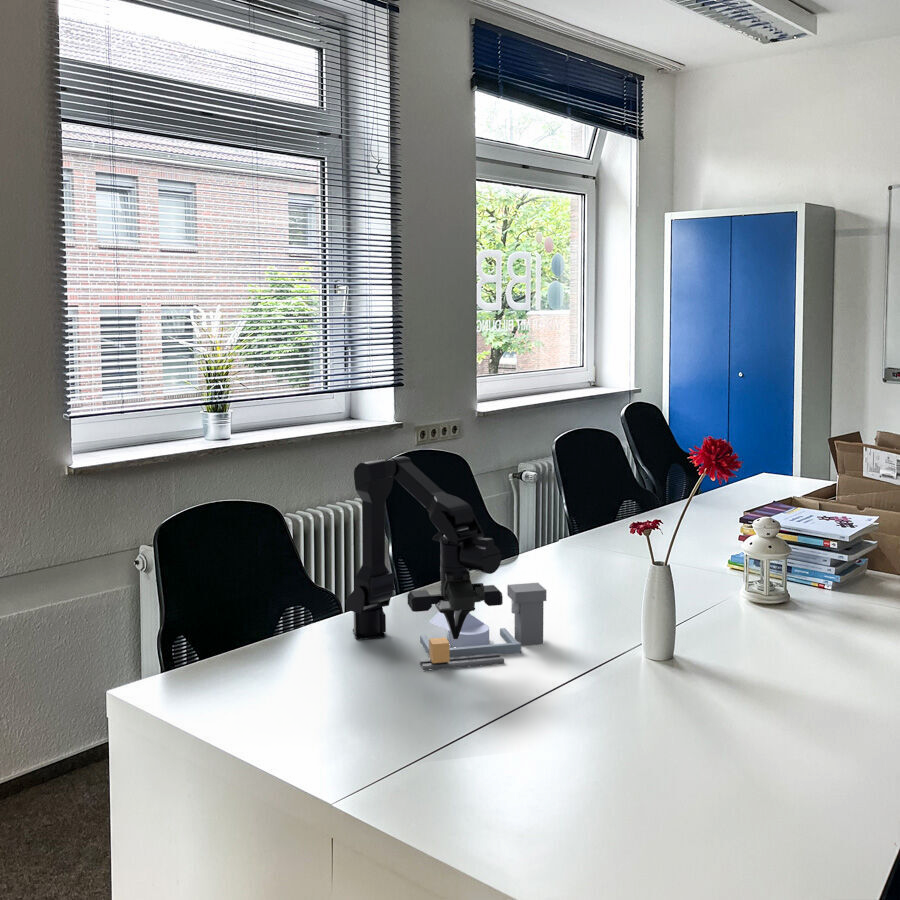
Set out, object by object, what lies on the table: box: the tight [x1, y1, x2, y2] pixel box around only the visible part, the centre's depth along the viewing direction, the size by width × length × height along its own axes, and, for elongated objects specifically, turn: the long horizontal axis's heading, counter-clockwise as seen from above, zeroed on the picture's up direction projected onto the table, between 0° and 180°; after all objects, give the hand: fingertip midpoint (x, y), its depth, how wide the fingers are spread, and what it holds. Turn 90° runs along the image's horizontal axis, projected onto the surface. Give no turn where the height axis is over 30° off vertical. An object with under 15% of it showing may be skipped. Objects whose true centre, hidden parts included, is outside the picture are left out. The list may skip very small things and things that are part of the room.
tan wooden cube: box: [428, 637, 450, 663], centre depth 204 cm, size 4×4×5 cm
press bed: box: [419, 582, 547, 657], centre depth 215 cm, size 26×12×12 cm, turn 103°
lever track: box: [419, 653, 505, 671], centre depth 205 cm, size 17×4×1 cm, turn 103°
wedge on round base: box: [429, 610, 490, 648], centre depth 219 cm, size 9×7×13 cm
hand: (455, 638), depth 204 cm, fingers closed
